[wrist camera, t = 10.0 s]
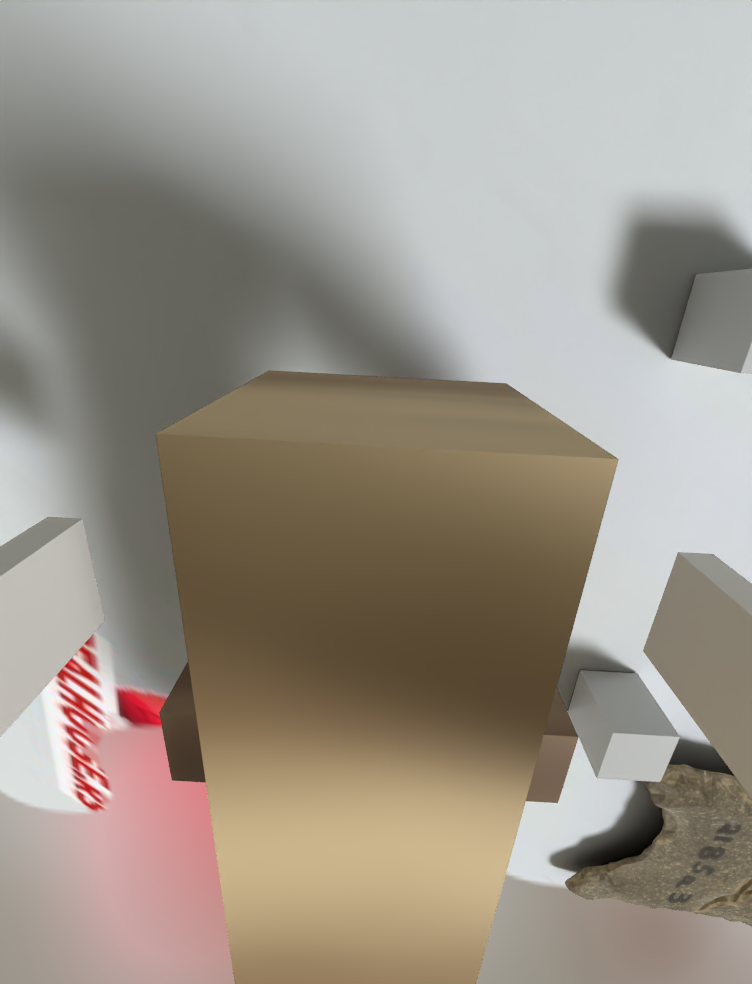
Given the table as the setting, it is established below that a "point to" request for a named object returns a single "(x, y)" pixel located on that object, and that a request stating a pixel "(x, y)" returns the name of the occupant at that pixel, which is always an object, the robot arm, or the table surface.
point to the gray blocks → (623, 696)
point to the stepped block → (189, 766)
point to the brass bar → (373, 655)
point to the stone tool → (687, 851)
